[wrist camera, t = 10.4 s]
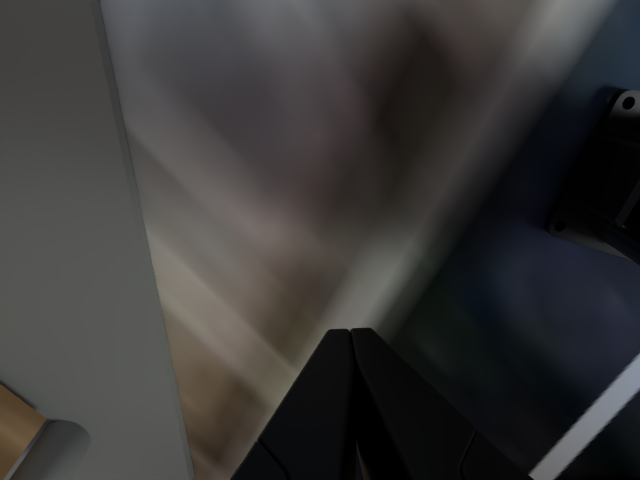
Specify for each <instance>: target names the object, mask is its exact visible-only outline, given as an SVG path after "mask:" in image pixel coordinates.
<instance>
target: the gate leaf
mask: <svg viewBox="0 0 640 480" xmlns="http://www.w3.org/2000/svg"><path fill="white" fill-rule="evenodd" d="M45 421H46V418H45V417H43V416H42V415H41V414H39V413H38V412H37V411H35V410H34V409H33V408H31V407H30V406H29V405H27V404H26V403H25V402H23V401H22V400H21V399H19V398H18V397H17V396H15V395H14V394H13V393H11V392H10V391H9V390H7V389H6V388H5V387H3V386H2V385H1V384H0V480H3V479H4V478H5V476H6V475H7V474H8V472H9V471H10V470H11V468H12V467H13V465H14V464H15V463H16V461H17V460H18V458H19V457H20V456H21V454H22V453H23V451H24V450H25V449H26V447H27V446H28V444H29V443H30V442H31V440H32V439H33V438H34V436H35V435H36V433H37V432H38V431H39V429H40V428H41V426H42V425H43V424H44V422H45Z"/></svg>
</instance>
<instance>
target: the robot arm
mask: <svg viewBox="0 0 640 480" xmlns="http://www.w3.org/2000/svg"><path fill="white" fill-rule="evenodd" d="M627 97H628V98H629V102H628V105H627V106H626V107H624V108H623V107H622V103H623V100H624V99H625V98H627ZM559 221H562V223H561V225H560V226H559V227H558V228H554V227H555V224H556V223H557V222H559ZM545 229H546V230H547V231H548V232H549V233H550V234H551V235H553V236H555V237H558V238H562V239H565V240H568V241H571V242H574V243H578V244H581V245H584V246H587V247H590V248H594V249H597V250H600V251H603V252H606V253H610V254H613V255H616V256H619V257H622V258H626V259H629V260H632V261H634V262H635V263H637V264H638V265H640V92H638V91H635V90H628V89H623V90H620V91H618V92H617V93H615V94H614V96H613V97H612V99H611V100H610V102H609V104H608V106H607V108H606V110H605V111H604V113H603V115H602V117H601V119H600V121H599V123H598V124H597V126H596V128H595V130H594V132H593V133H592V134H591V135H589V137H588V138H587V140H586V142H585V144H584V146H583V148H582V150H581V151H580V153H579V155H578V157H577V159H576V161H575V163H574V164H573V166H572V168H571V170H570V172H569V174H568V176H567V177H566V179H565V181H564V183H563V185H562V187H561V193H560V195H559V197H558V199H557V200H556V202H555V204H554V206H553V208H552V210H551V211H550V213H549V215H548V217H547V219H546V221H545ZM356 440H357V448H358V454H359V459H360V464H361V469H362V473H363V478H364V480H534V479H532V478H531V477H530V476H529V475H528V474H526V473H525V472H524V471H523V470H522V469H520V468H519V467H518V466H517V465H516V464H515V463H514V462H513V461H512V460H510V459H509V458H508V457H507V456H506V455H505V454H504V453H503V452H502V451H500V450H499V449H498V448H497V447H496V446H495V445H494V444H493V443H492V442H491V441H490V440H489V439H488V438H487V437H486V436H484V435H483V434H482V433H481V432H478V430H477V428H476V427H475V426H474V425H473V424H472V423H471V422H470V421H468V420H467V419H466V418H465V417H464V416H463V415H462V414H461V413H460V412H459V411H458V410H457V409H456V408H455V407H454V406H453V405H452V404H451V403H450V402H449V401H447V400H446V399H445V398H444V397H443V396H442V395H441V394H440V393H439V392H438V391H437V390H436V389H435V388H434V387H433V386H432V385H431V384H430V383H429V382H428V381H426V380H425V379H424V378H423V377H422V376H421V375H420V374H419V373H418V372H417V371H416V370H415V369H414V368H413V367H412V366H411V365H410V364H409V363H408V362H407V361H405V360H404V359H403V358H402V357H401V356H400V355H399V354H398V353H397V352H396V351H395V350H394V349H393V348H392V347H391V346H390V345H389V344H388V343H387V342H386V341H384V340H383V339H382V338H381V337H380V336H379V335H378V334H377V333H376V332H375V331H374V330H373V329H371V328H353V329H351V330H350V332H349V330H348V329H330V330H328V331H327V332H326V334H325V335H324V337H323V338H322V340H321V341H320V343H319V344H318V346H317V348H316V349H315V351H314V352H313V354H312V355H311V357H310V358H309V360H308V361H307V363H306V365H305V366H304V368H303V369H302V371H301V372H300V374H299V375H298V377H297V378H296V380H295V382H294V383H293V385H292V386H291V388H290V389H289V391H288V392H287V394H286V395H285V397H284V399H283V400H282V402H281V403H280V405H279V406H278V408H277V409H276V411H275V412H274V414H273V416H272V417H271V419H270V420H269V422H268V423H267V425H266V426H265V428H264V429H263V431H262V433H261V434H260V436H259V437H258V439H257V441H256V442H255V443H254V445H253V446H252V448H251V449H250V451H249V452H248V454H247V455H246V457H245V459H244V460H243V461H242V463H241V464H240V466H239V467H238V469H237V470H236V471H235V473H234V474H233V476H232V477H231V479H230V480H355V474H356Z"/></svg>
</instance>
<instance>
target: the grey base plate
mask: <svg viewBox="0 0 640 480" xmlns="http://www.w3.org/2000/svg"><path fill="white" fill-rule="evenodd" d="M0 384H1V385H2V386H3V387H5V388H6V389H7V390H9V391H10V392H11V393H13V394H14V395H15V396H17V397H18V398H19V399H21V400H22V401H23V402H25V403H26V404H27V405H29V406H30V407H31V408H33V409H34V410H35V411H37V412H38V413H39V414H41V415H42V416H43V417H45V418H46V421H45V422H44V424H43V425H42V426H41V428H40V429H39V431H38V432H37V433H36V435H35V436H34V438H33V439H32V440H31V442H30V443H29V444H28V446H27V447H26V449H25V450H24V451H23V453H22V454H21V456H20V457H19V458H18V460H17V461H16V463H15V464H14V465H13V467H12V468H11V470H10V471H9V472H8V474H7V475H6V476H5V478H4V479H3V480H193V479H194V475H195V474H194V469H193V464H192V459H191V454H190V450H189V445H188V440H187V435H186V430H185V425H184V420H183V415H182V410H181V405H180V400H179V395H178V390H177V385H176V380H175V375H174V370H173V365H172V360H171V355H170V350H169V345H168V340H167V335H166V330H165V325H164V320H163V315H162V310H161V305H160V301H159V296H158V291H157V286H156V281H155V276H154V271H153V266H152V261H151V256H150V251H149V246H148V241H147V236H146V231H145V226H144V221H143V216H142V211H141V206H140V201H139V196H138V191H137V186H136V181H135V176H134V171H133V166H132V161H131V156H130V152H129V147H128V142H127V137H126V132H125V127H124V122H123V117H122V112H121V107H120V102H119V97H118V92H117V87H116V82H115V77H114V72H113V67H112V62H111V57H110V52H109V47H108V42H107V37H106V32H105V27H104V22H103V17H102V12H101V8H100V3H99V0H0Z"/></svg>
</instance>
